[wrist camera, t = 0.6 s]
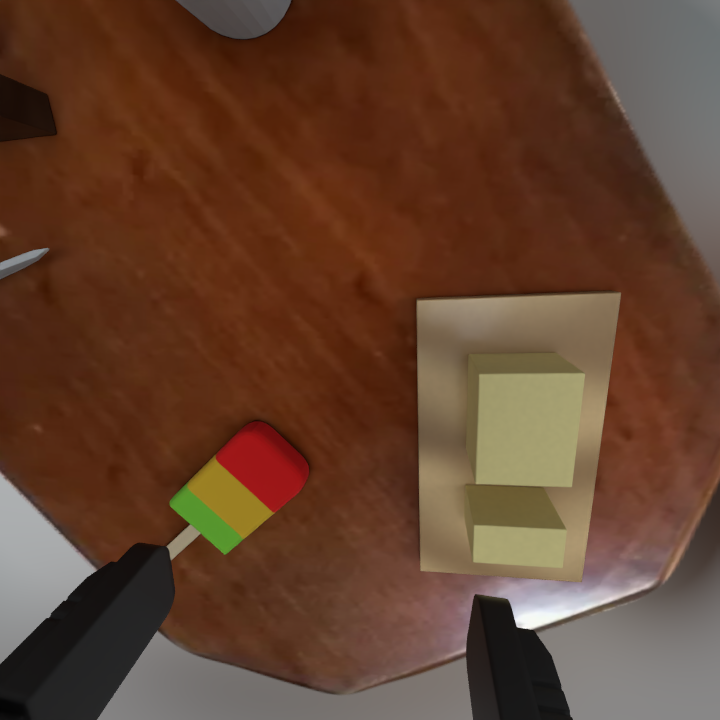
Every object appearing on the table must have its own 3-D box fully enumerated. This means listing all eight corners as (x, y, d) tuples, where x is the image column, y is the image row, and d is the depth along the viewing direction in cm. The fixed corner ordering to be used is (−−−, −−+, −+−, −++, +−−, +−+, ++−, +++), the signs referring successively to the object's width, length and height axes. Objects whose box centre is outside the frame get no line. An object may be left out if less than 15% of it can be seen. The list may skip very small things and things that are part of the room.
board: (416, 297, 21) (416, 300, 20) (611, 290, 19) (621, 292, 18) (420, 559, 25) (420, 571, 25) (575, 569, 24) (581, 582, 23)
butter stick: (468, 353, 20) (478, 373, 17) (556, 352, 19) (586, 372, 16) (465, 448, 22) (475, 484, 18) (547, 450, 21) (572, 488, 18)
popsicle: (319, 467, 25) (311, 484, 23) (193, 575, 29) (178, 596, 27) (258, 410, 24) (246, 423, 22) (139, 529, 28) (121, 548, 27)
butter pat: (464, 484, 22) (473, 525, 19) (544, 487, 22) (567, 530, 18) (464, 517, 23) (472, 562, 20) (540, 521, 22) (563, 568, 19)
